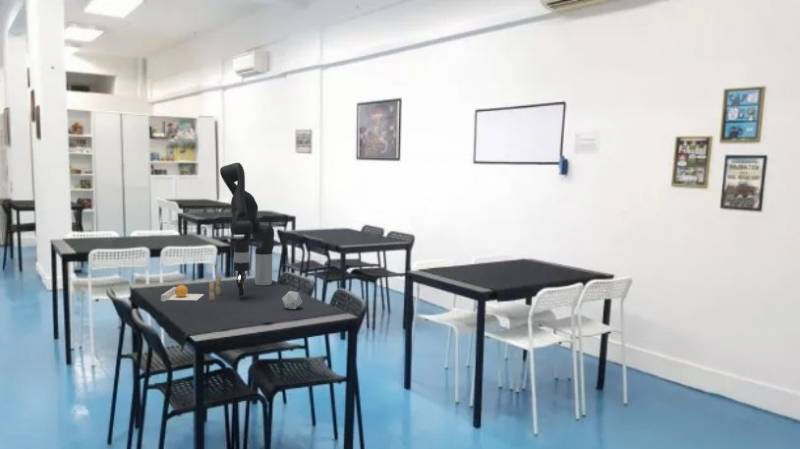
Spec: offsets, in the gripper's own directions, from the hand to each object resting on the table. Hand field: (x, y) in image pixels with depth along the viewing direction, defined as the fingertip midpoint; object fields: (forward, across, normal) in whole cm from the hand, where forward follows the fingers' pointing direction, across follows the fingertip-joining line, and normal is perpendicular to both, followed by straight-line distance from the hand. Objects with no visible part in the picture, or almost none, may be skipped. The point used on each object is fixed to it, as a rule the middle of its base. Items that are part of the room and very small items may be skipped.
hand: (241, 295), depth 298 cm
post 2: (+2, -8, -13) cm, 15 cm away
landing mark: (+2, -1, -27) cm, 27 cm away
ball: (-2, -1, -29) cm, 29 cm away
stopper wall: (+2, -1, -35) cm, 35 cm away
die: (+2, +20, +27) cm, 34 cm away
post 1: (+2, +6, -13) cm, 14 cm away
